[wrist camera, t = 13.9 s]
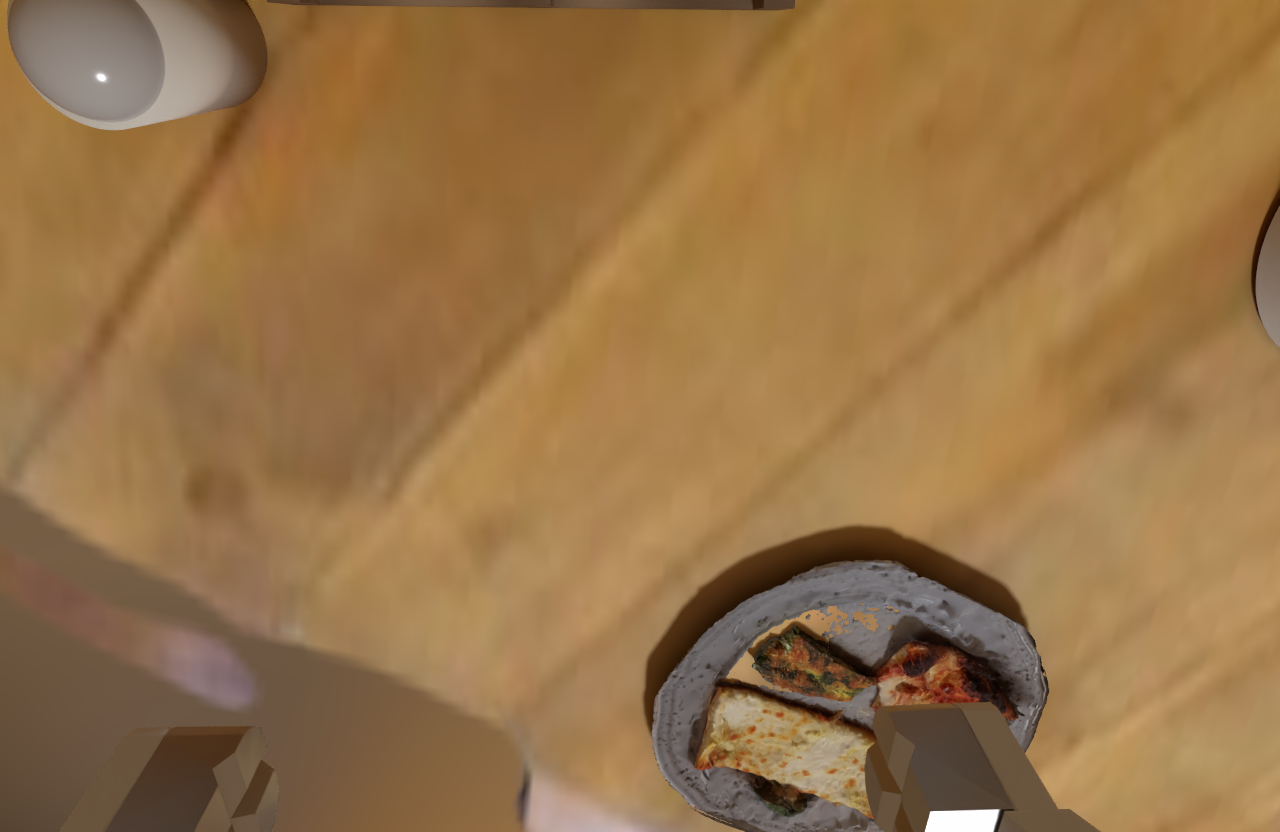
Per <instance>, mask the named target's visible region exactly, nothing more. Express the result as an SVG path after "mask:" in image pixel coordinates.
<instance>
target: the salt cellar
mask: <svg viewBox="0 0 1280 832" xmlns="http://www.w3.org/2000/svg"><path fill="white" fill-rule="evenodd" d="M7 30H8V37H9V40H10V44H11V48H12V51H13V53H14V56H15V58H16V60H17V62H18V64H19V66H20V68H21V70H22V72H23V73H24V75H25V77H26V78H27V80H28V81H29V82H30V84H31V85H32V86H33V87H34V89H35V90H36V91H37V92H38V93H39V94H40V95H41V96H42V97H43V98H44V99H45V100H46V101H47V102H48V103H49V104H51V105H52V106H53V107H54V108H56V109H57V110H58V111H60V112H61V113H63V114H64V115H66V116H68V117H69V118H71V119H73V120H75V121H77V122H80V123H82V124H85V125H88V126H91V127H94V128H99V129H104V130H124V129H129V128H134V127H139V126H144V125H149V124H153V123H158V122H163V121H168V120H173V119H177V118H182V117H187V116H192V115H197V114H202V113H206V112H211V111H216V110H221V109H226V108H231V107H235V106H237V105H240V104H242V103H244V102H246V101H247V100H248V99H250V98H251V97H252V96H253V95H254V94H255V93H256V92H257V90H258V89H259V87H260V86H261V84H262V82H263V79H264V77H265V73H266V68H267V48H266V42H265V38H264V35H263V32H262V30H261V27H260V25H259V23H258V21H257V19H256V18H255V16H254V14H253V13H252V11H251V10H250V9H249V7H248V6H247V5H246V4H245V3H244V2H243V1H242V0H9V3H8V9H7Z"/></svg>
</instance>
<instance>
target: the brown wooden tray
mask: <svg viewBox="0 0 1280 832" xmlns="http://www.w3.org/2000/svg"><path fill="white" fill-rule="evenodd" d="M267 2H271V3H282V4H292V5H358V6H446V7H534V8H622V9H710V10H784V9H792V8H794V6H795V0H267Z"/></svg>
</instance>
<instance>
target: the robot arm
mask: <svg viewBox="0 0 1280 832" xmlns="http://www.w3.org/2000/svg"><path fill="white" fill-rule="evenodd" d="M1256 300H1257V306H1258V311H1259V314H1260V318H1261V321H1262V323H1263V325H1264V327H1265V329H1266V331H1267V333H1268V334H1269V336H1270V337H1271V339H1272V340H1273V341H1274V343H1275V344H1276V345H1277V346H1278V347H1279V348H1280V206H1279V208H1278V210H1277V212H1276V214H1275V216H1274V218H1273V220H1272V222H1271V224H1270V226H1269V229H1268V231H1267V234H1266V236H1265V239H1264V242H1263V245H1262V249H1261V252H1260V256H1259V261H1258V266H1257V274H1256ZM872 728H873V730H874V733H875V735H876V738H877V741H876V742H875V743H874V744H873V745H872V746H871V747H870V748H868V749H867V754H866V760H865V767H864V770H865V787H866V793H867V797H868V802H869V806H870V809H871V812H872V815H873V818H874V821H875V824H876V825H877V826H878V827H879V828H880V829H882V830H883V831H884V832H1101V831H1099V830H1098V829H1096V828H1095V827H1094V826H1092V825H1091V824H1090V823H1088V822H1087V821H1085V820H1084V819H1083V818H1081V817H1080V816H1079V815H1077V814H1076V813H1074V812H1073V811H1072V810H1070V809H1058V808H1057V806H1056V804H1055V803H1054V801H1053V799H1052V798H1051V796H1050V794H1049V793H1048V791H1047V789H1046V788H1045V786H1044V784H1043V783H1042V781H1041V779H1040V778H1039V776H1038V774H1037V773H1036V771H1035V769H1034V768H1033V766H1032V764H1031V763H1030V761H1029V759H1028V758H1027V756H1026V754H1025V753H1024V751H1023V749H1022V748H1021V746H1020V744H1019V743H1018V741H1017V739H1016V738H1015V736H1014V734H1013V733H1012V731H1011V729H1010V728H1009V726H1008V724H1007V723H1006V721H1005V719H1004V718H1003V716H1002V714H1001V713H1000V711H999V709H998V708H997V707H996V706H995V705H993V704H992V703H991V702H976V703H953V704H950V703H937V704H914V705H891V706H879V708H878V709H877V710H876V712H875V715H874V719H873V724H872ZM266 747H267V743H266V740H265V737H264V735H263V732H262V729H261V727H254V726H219V727H218V726H213V727H211V726H207V727H143V728H141V727H140V728H135V729H134V730H132V731H131V732H130V733H128V734H127V735H126V736H125V737H123V738H122V740H121V741H120V743H119V744H118V746H117V747H116V748H115V750H114V752H113V753H112V754H111V756H110V757H109V759H108V760H107V762H106V763H105V765H104V766H103V768H102V769H101V770H100V772H99V774H98V775H97V776H96V778H95V780H94V781H93V782H92V784H91V785H90V787H89V788H88V790H87V791H86V793H85V794H84V796H83V797H82V798H81V800H80V801H79V803H78V804H77V806H76V807H75V809H74V810H73V812H72V813H71V815H70V816H69V818H68V819H67V820H66V822H65V823H64V825H63V826H62V828H61V829H60V831H59V832H272V829H273V827H274V823H275V818H276V812H277V807H278V802H279V793H278V781H277V777H276V773H275V770H274V769H273V768H272V767H271V766H269V765H268V764H267V763H265V762H264V761H263V760H261V758H262V756H263V754H264V752H265V749H266Z"/></svg>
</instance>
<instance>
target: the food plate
mask: <svg viewBox="0 0 1280 832" xmlns="http://www.w3.org/2000/svg"><path fill="white" fill-rule="evenodd" d="M903 568H905V569H908V570H910V569H909V568H907V567H906V566H904V565H903V564H901V563H899V562H898V561H890V560H887V561H886V560H883V561H882V560H878V559H877V560H868V561H866V560H854V561H853V562H852V561H851V562H850V561H842V562H840V561H839V562H833V563H830V564H826V565H822V566H816V567H815V568H812V569H811V570H810V571H809V572H806V573H804V572H802V573H801V574H798V575H797V576H795V575H794V576H793V577H792V579H791V580H789V581H788V582H787V583H785V584H783V585H782V586H781V585H780V586H777V587H774V588H773V589H769V591H765V592H762V593H761V594H760V593H759V594H757V595H756V594H755V595H754V596H753V597H752V598H751V599H750V598H749V599H748V600H746V601H745V602H742V603H740V604H739V605H738V606H737V607H735V609H734V610H732V611H730V612H728V613H726V615H725V616H724V617H722V618H721V619H720V620H719V621H717V622H715V624H714V625H713V627H712V625H711V626H710V627H709V628H708V629H707V630H706V631H705V632H706V633H705V632H704V634H703V635H702V636H701V638H700V639H698V641H697V642H695V644H694V645H693V646H692V647H691V648H690V649H689V650H687V651H688V654H686V655H685V657H684V658H682V660H681V661H680V662H678V663H679V664H678V663H677V666H676V668H674V671H673V672H671V674H670V675H669V676H668V679H667V682H665V683H664V684H663V686H662V688H660V690H659V692H658V694H657V695H656V696H655V702H654V710H653V713H654V714H653V718H654V722H653V724H652V735H651V736H652V739H653V748H654V751H655V752H654V754H655V757H656V758H655V759H656V760H657V761H658V762H657V765H658V767H659V769H660V770H661V772H662V774H663V775H664V777H665V779H666V781H668V783H669V785H670V786H671V787H672V786H673V787H672V788H674V789H675V790H676V791H678V792H679V793H680V794H681V795H682V796H683V798H684V799H685V800H686V802H688V804H691V806H693V807H695V809H699V810H702V811H704V812H706V813H707V814H710V815H712V816H713V817H711V816H709V815H706V814H704V813H700V812H699V813H700V814H702V815H704V816H706V817H708V818H710V819H712V820H714V821H717V822H720V823H723V824H725V825H728V826H730V827H733V828H736V829H739V830H743V831H745V832H884V831H883V830H882V829H880V828H879V827H878V826H877V825H876V824H875V821H874V818H873V815H872V812H871V809H870V806H869V802H868V797H867V793H866V787H865V770H864V767H865V760H866V754H867V749H868V748H870V747H871V746H872V745H873V744H874V743H875V742H876V741H877V738H876V735H875V733H874V730H873V728H872V724H873V719H874V715H875V712H876V710H877V709H878V708H879V706H891V705H914V704H937V703H950V704H953V703H976V702H991V703H992V704H993V705H995V706H996V707H997V708H998V709H999V711H1000V713H1001V714H1002V716H1003V718H1004V719H1005V721H1006V723H1007V724H1008V726H1009V728H1010V729H1011V731H1012V733H1013V734H1014V736H1015V738H1016V739H1017V741H1018V743H1019V744H1020V746H1021V748H1022V749H1023V751H1024V753H1025V752H1026V750H1027V749H1028V747H1029V745H1030V743H1031V741H1032V739H1033V738H1034V734H1035V732H1036V728H1037V725H1038V722H1039V720H1040V717H1041V715H1042V711H1043V709H1044V707H1045V704H1046V701H1047V696H1048V694H1049V688H1048V680H1047V678H1046V675H1045V676H1043V674H1042V673H1044V671H1045V670H1044V669H1043V667H1042V665H1041V663H1042V662H1041V656H1039V654H1038V653H1037V650H1036V645H1035V644H1036V643H1035V640H1034V638H1033V637H1032V635H1030V633H1029V632H1028V631H1027V629H1026V628H1024V626H1023V625H1022V624H1020V623H1019V622H1018V621H1016V622H1017V623H1016V622H1013V621H1012V620H1010V619H1009V618H1008V617H1006V616H1005V615H1003V614H1001V613H999V612H995V611H994V610H992V609H991V608H988V607H986V606H984V605H983V604H982V603H980V602H977V601H976V600H973V599H971V598H970V597H968V596H967V595H964V594H963V593H958V592H955V591H954V590H951V589H949V588H947V587H946V586H944V585H943V584H940V583H939V582H938V581H936V580H935V581H934V580H929V579H928V578H925V577H920V578H918V576H917V575H916V574H917V573H915V572H913V571H912V570H910V571H912V572H909V571H907V570H905V569H903ZM860 603H863V604H864V605H863V606H862V605H859V604H860ZM829 606H838V607H837V609H838V610H840V611H842V612H843V613H847V614H848V617H847V619H846V620H848V621H849V624H848V625H844V621H845V620H841V622H839V623H838V625H842V626H841V627H842V628H843V631H842V633H841V634H840V635H836V634H837V631H836V632H833V631H832V629H834V628H835V625H836V622H835V621H834V622H832V625H831V627H830V629H831V631H830V632H829V633H830V634H832V635H833V634H834V636H833V637H832V638H829V643H830V644H828V643H825V641H820V640H815V639H814V638H813V637H811V636H809V635H807V634H806V633H805V632H803V631H801V630H799V628H798V626H796V625H793V626H792V630H791V631H787V632H786V634H784V635H783V636H781V637H771V638H770V639H769V640H768V641H767V642H765V643H764V644H763V645H762V646H760V647H759V651H758V652H757V653H756V655H755V656H754V660H755V663H753V664H752V668H754V669H756V670H757V671H759V673H760V674H761V675H762V677H763V678H764V679H765V680H766V681H768V682H770V683H772V684H773V685H776V686H778V685H779V686H780V687H782V688H789V689H790V690H791V691H793V692H792V693H789V692H786V691H784V692H782V691H781V692H780V691H778V690H775V689H773V690H771V689H768V687H766V686H763V685H761V686H760V687H759V688H758V686H755V685H751V684H743V683H741V681H737V682H736V683H735V684H730V683H728V682H722V680H723V679H724V678H725V677H726V676H727V675H728V674H729V671H730V670H731V669H732V668H733V666H734V665H735V664H736V663H737V662H738V660H739V659H740V658H741V657H743V655H744V653H745V652H746V651H747V649H748V648H750V647H751V646H752V645H753V642H754V641H755V640H756V639H757V637H758V636H760V635H762V634H763V633H765V632H767V631H768V630H769V629H770V628H772V627H773V626H778V625H780V624H782V623H783V622H784V621H785V620H786V619H789V620H790V619H795V618H796V617H799V616H800V615H801V614H802V613H803V612H807V611H809V610H813V609H814V610H821V611H820V613H824V614H826V616H830V615H832V613H830V614H827V608H828V607H829ZM888 606H893V607H894V609H898V610H900V611H899V612H897V613H896V612H894V610H893V609H887V608H886V607H888ZM868 608H880V610H878V611H873V612H872V611H871V610H868ZM863 609H864V610H863ZM906 610H907V611H906ZM857 611H862V613H864V614H867V615H868V614H874V615H875V617H874V618H875V619H878V621H877V622H876V623H877V624H879V627H878V628H877V630H876V633H874V632H873V631H871V630H868V629H867V628H866V627H864V626H863V624H862V622H860V621H859V620H854V617H852V615H853V614H854V613H856V612H857ZM852 612H854V613H852ZM885 612H889V613H885ZM817 615H818V614H817ZM904 616H905V617H904ZM809 617H810V615H809V614H808V615H807V617H806V619H807V620H809ZM883 618H884V619H883ZM1012 618H1013V617H1012ZM824 619H825V618H823V619H822V620H824ZM837 619H841V617H840V616H838V615H837ZM865 619H866V618H864V620H865ZM882 619H883V620H882ZM1013 619H1014V618H1013ZM1014 621H1015V620H1014ZM926 623H929V624H930V625H929V624H926ZM1018 623H1019V624H1020V625H1019V624H1018ZM828 624H830V623H828ZM867 625H871V624H869V623H867V622H866V626H867ZM889 625H894V628H893V629H892V630H888V629H887V627H888V626H889ZM845 628H846V629H847V630H848V631H852V633H844V631H845ZM829 633H828V632H826V631H825V632H824V633H823V634H822V636H823V637H826V636H827V637H829ZM839 637H841V638H839ZM828 647H829V648H828ZM687 651H686V652H687ZM846 657H847V658H846ZM1045 674H1046V672H1045ZM773 688H775V687H773ZM800 697H801V698H800ZM690 808H691V807H690ZM695 811H696V810H695ZM697 812H698V811H697ZM714 817H716V818H718V819H719V820H718V819H716V818H714ZM720 819H721V820H724V821H726V822H728V823H726V822H723V821H720ZM730 823H731V824H730ZM732 824H733V825H732Z"/></svg>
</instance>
